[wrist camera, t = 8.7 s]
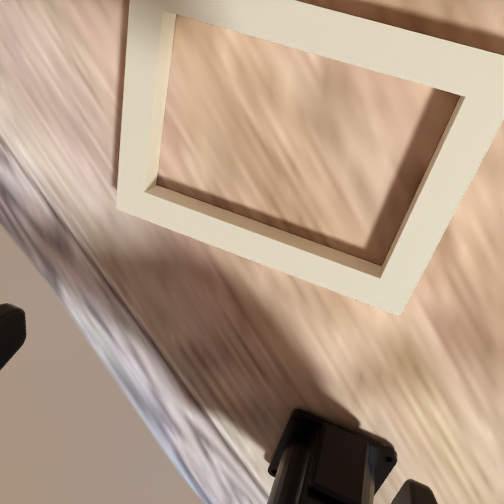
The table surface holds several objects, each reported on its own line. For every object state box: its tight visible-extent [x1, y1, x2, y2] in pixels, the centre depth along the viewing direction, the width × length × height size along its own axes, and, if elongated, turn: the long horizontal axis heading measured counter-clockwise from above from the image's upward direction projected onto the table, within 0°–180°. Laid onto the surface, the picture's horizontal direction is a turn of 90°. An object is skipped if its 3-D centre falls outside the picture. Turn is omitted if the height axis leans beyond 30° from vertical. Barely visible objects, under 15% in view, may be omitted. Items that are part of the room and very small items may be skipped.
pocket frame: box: [116, 0, 504, 316], centre depth 18 cm, size 11×15×1 cm
